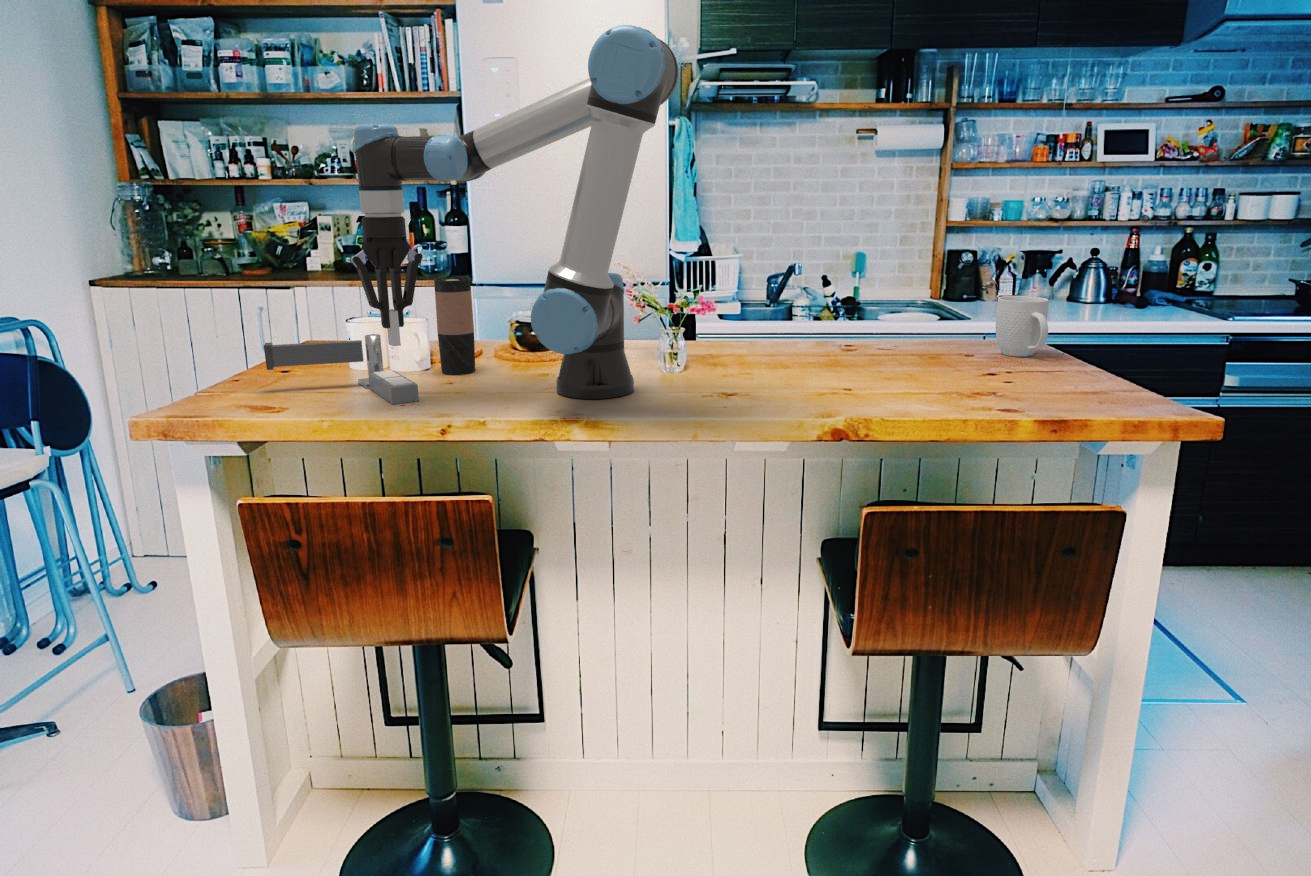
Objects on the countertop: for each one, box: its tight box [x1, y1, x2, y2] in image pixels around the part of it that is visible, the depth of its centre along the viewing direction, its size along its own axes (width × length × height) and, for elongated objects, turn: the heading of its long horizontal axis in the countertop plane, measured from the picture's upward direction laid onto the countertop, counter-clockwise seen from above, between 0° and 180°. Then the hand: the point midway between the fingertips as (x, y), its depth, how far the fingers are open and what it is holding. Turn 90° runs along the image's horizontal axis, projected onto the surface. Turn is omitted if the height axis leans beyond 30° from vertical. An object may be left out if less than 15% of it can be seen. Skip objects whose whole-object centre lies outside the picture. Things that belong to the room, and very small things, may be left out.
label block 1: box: [368, 369, 405, 398], centre depth 175 cm, size 8×5×4 cm, turn 32°
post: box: [357, 333, 385, 389], centre depth 180 cm, size 6×6×10 cm
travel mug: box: [433, 276, 476, 376], centre depth 190 cm, size 8×8×20 cm
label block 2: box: [380, 376, 420, 405], centre depth 169 cm, size 8×5×4 cm, turn 32°
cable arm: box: [263, 339, 364, 371], centre depth 176 cm, size 18×3×5 cm, turn 107°
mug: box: [995, 295, 1049, 358], centre depth 205 cm, size 15×11×13 cm
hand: (394, 344), depth 167 cm, fingers closed
